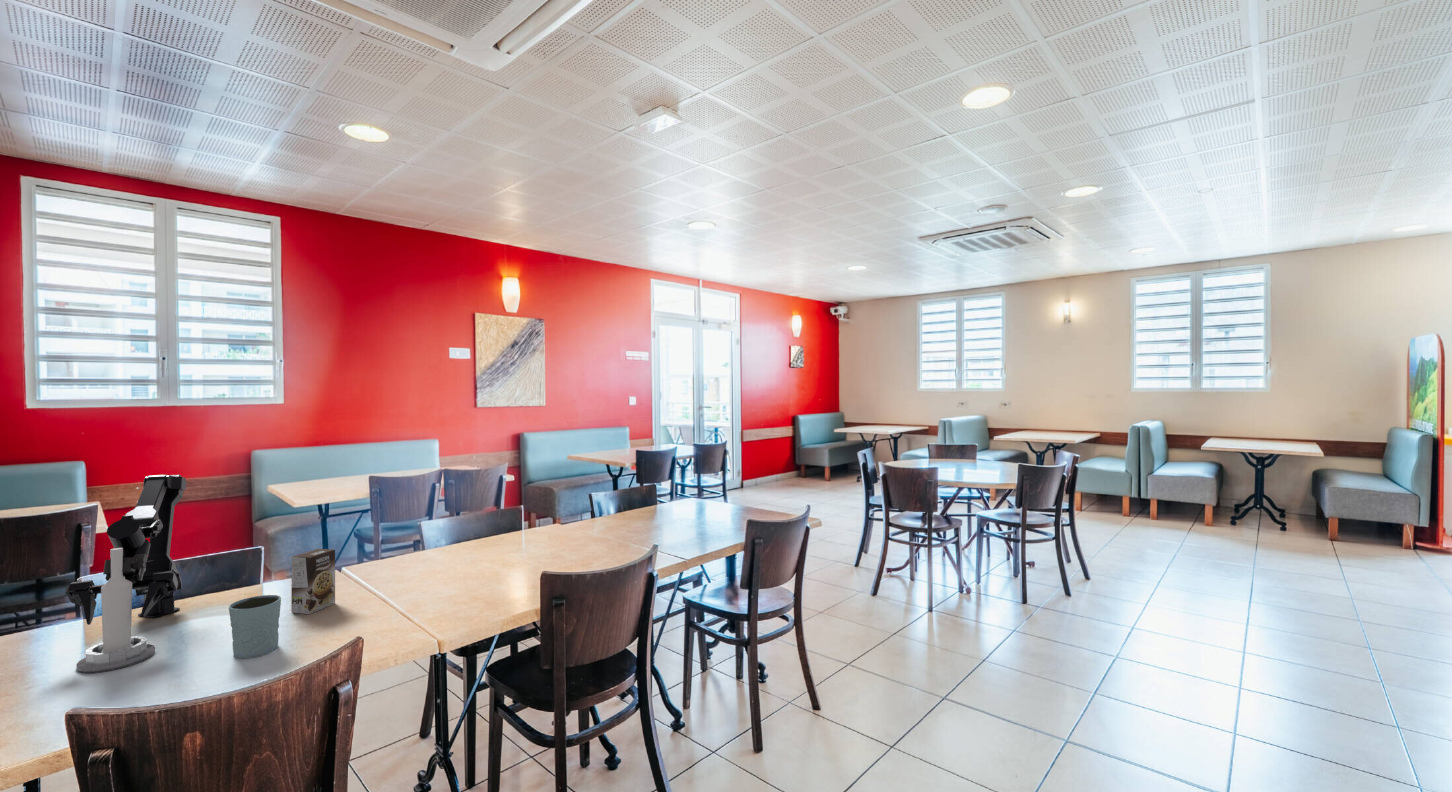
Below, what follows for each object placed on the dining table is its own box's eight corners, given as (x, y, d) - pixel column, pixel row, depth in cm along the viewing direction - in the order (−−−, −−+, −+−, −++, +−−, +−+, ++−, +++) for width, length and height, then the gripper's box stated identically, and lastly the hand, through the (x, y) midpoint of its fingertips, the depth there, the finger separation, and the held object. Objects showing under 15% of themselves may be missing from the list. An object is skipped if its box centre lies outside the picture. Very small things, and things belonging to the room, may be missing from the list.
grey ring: (61, 669, 138) (60, 654, 137) (129, 645, 150) (129, 631, 150) (103, 676, 135) (103, 660, 134) (169, 651, 147) (169, 636, 147)
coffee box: (309, 614, 171) (309, 557, 170) (290, 612, 172) (290, 556, 172) (336, 603, 180) (336, 549, 179) (318, 601, 181) (317, 547, 181)
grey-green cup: (239, 663, 141) (239, 612, 141) (221, 653, 146) (221, 603, 146) (289, 647, 150) (289, 599, 149) (270, 638, 155) (270, 591, 155)
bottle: (94, 660, 140) (94, 551, 140) (116, 650, 145) (115, 546, 145) (118, 660, 140) (117, 551, 140) (139, 650, 145) (138, 545, 145)
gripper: (67, 548, 141) (47, 611, 132) (174, 538, 151) (161, 596, 142) (82, 572, 148) (63, 634, 139) (182, 561, 158) (171, 618, 148)
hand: (115, 620), depth 142 cm, fingers open, 9 cm apart
